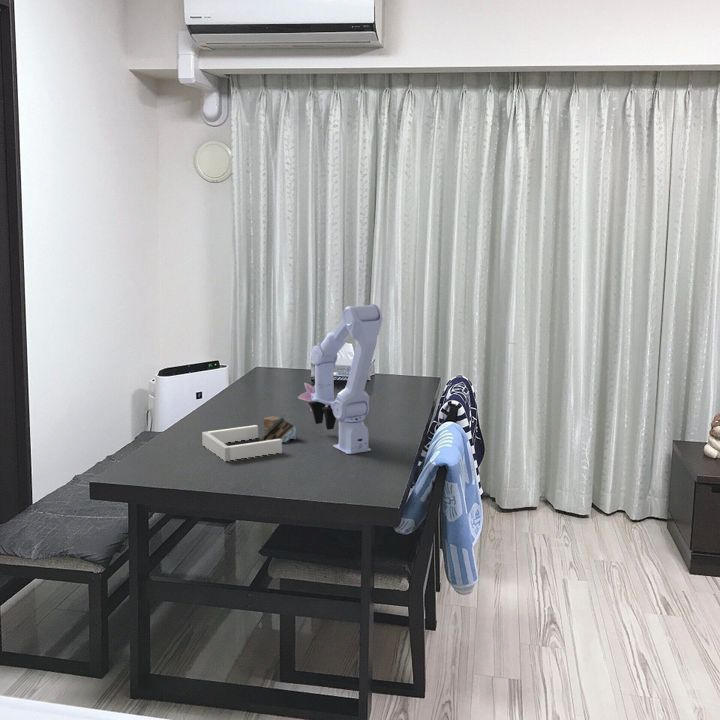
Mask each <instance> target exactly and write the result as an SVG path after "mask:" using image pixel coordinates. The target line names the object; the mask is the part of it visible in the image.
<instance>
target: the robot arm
mask: <svg viewBox="0 0 720 720" xmlns="http://www.w3.org/2000/svg"><path fill="white" fill-rule="evenodd" d="M383 319H384V318H383V315H382V312H381V310H380V307H379V306H378V305H377V304H376V303H374V304H373V303H371V304H368V305H367V304H365V305H355V306H353V305H352V306H351V305H347V306H346V307H345V308H344V310H343V311H342V312H341V321H340V323H339V324H338V325H337V328H336V329H335V330H332V331H329V332H328V333H327V335H326V337H325V338H324V339H323V341H322V342H321V343H320V344H318V345H314V346H313V347H312V348H311V352H310V355H311V360H312V362H313V364H314V385H315V393H311V399H312V401H310V402H308V405H309V408H310V407H311V409H312V411H311V412H312V414H313V418H314V422H315V425H318V424H319V425H320V424H323V421H324V419H325V428H326V430H334V428H335V424H336V420H337V421H338V443H337V444H333V445H332V447H333V448H335V449H337V450H339V451H341V452H343V453H344V454H346V455H352V454H358V453H364V452H371V451H372V448H370V447H369V429H368V427H367V426H366V424H365V423H364V420H365V419H366V416H367V415H368V414H369V412H370V396H369V395H370V394H368V393H367V391H365V389H366V384H367V380H368V376H369V373H370V370H371V365H372V362H373V361H372V360H373V357H374V354H375V350H376V347H377V343H378V342H377V341H378V336H379V334H380V330H381V327H382V322H383ZM349 335H350V336H351V337H350V338H352V339H353V340H355V341H356V346H355V349H354V353H353V357H352V361H351V366H350V369H349V373H348V377H347V382H346V385H345V388H343V389H342V390H340V391H339V392H338V393H337V395H336V398H335V397H334V395H335V393H334V391H335V388H334V380H335V379H334V377H335V375H334V372H335V371H334V369H336V363H337V361H338V353H339V352H340V351H341V350H342V348H344V346H345V344H346V337H347V336H349ZM325 405H328V407H325Z"/></svg>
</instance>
